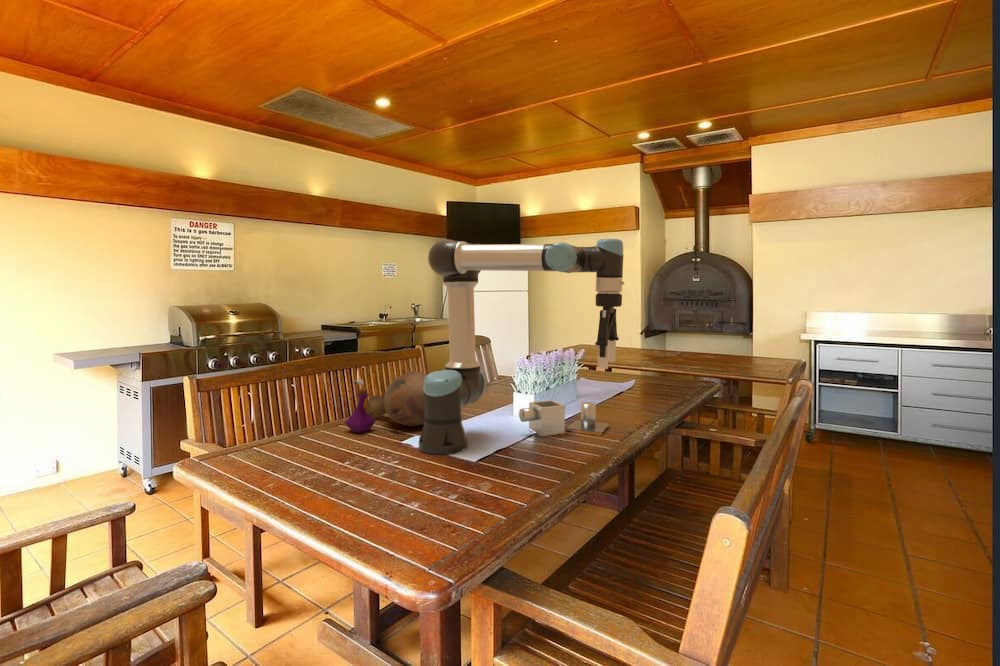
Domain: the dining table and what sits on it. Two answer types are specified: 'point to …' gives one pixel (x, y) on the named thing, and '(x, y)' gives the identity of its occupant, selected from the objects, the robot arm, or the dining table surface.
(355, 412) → the perfume bottle
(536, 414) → the collar
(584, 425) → the duct stub
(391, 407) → the jug
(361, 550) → the dining table surface
